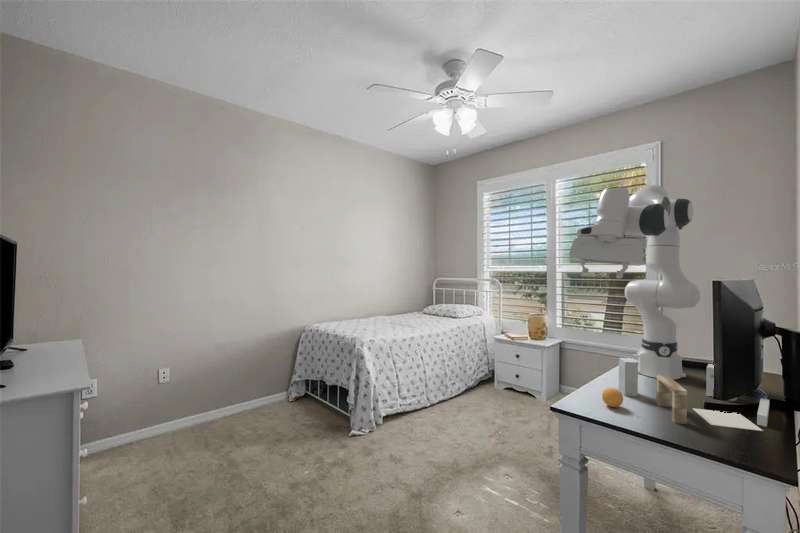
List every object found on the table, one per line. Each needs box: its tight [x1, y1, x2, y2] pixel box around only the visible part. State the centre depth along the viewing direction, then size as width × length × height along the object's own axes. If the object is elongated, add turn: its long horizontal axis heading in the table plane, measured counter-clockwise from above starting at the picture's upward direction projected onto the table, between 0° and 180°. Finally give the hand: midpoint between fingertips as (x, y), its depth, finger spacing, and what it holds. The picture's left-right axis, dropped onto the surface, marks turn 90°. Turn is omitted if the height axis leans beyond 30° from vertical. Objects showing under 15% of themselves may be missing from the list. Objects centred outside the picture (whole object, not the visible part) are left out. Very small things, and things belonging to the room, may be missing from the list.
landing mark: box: [692, 407, 764, 432], centre depth 110 cm, size 12×12×1 cm
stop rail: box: [756, 397, 770, 428], centre depth 112 cm, size 18×2×3 cm, turn 133°
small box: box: [705, 363, 715, 397], centre depth 127 cm, size 8×6×10 cm
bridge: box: [655, 374, 688, 425], centre depth 114 cm, size 3×15×10 cm, turn 162°
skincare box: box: [618, 357, 639, 397], centre depth 131 cm, size 6×4×12 cm
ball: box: [601, 387, 624, 408], centre depth 119 cm, size 6×6×6 cm
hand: (601, 275), depth 113 cm, fingers open, 8 cm apart
